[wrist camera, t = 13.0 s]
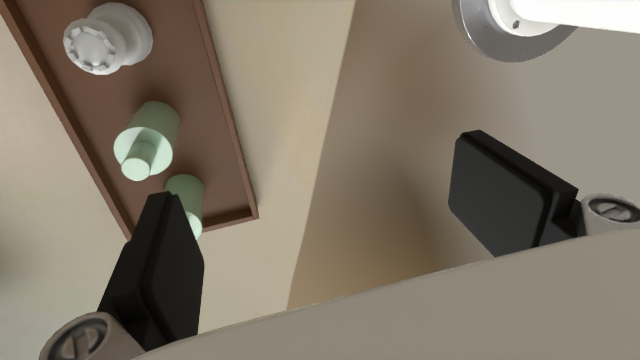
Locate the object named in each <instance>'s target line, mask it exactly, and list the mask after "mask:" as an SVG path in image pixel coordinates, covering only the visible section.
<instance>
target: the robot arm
mask: <svg viewBox="0 0 640 360" xmlns="http://www.w3.org/2000/svg"><path fill="white" fill-rule="evenodd" d="M488 6H489V9H490V11H491V14H492V17H493V18H494V20H495V21H496V23H497V24H498V25H499V26H500V27H501V28H502V29H503V30H505V31H507V32H509V33H511V34H514V35H519V36H536V35H540V34H543V33H545V32H548V31H550V30H552V29H553V28H555V27H556V26H558V25H560V24H563V25H572V26H581V27H589V28H598V29H606V30H615V31H624V32H632V33H640V0H488ZM578 190H579V189H578V188H576V187H574V186H573V185H571V184H569V183H568V182H566V181H564V180H562V179H561V178H559V177H558V176H556V175H554V174H553V173H551V172H549V171H548V170H546V169H544V168H543V167H541V166H539V165H538V164H536V163H535V162H533V161H531V160H530V159H528V158H526V157H525V156H523V155H521V154H519V153H518V152H516V151H515V150H513V149H511V148H510V147H508V146H506V145H505V144H503V143H501V142H500V141H498V140H496V139H495V138H493V137H491V136H490V135H488V134H486V133H485V132H483V131H481V130H475V131H470V132H465V133H462V134H461V135H460V137H459V138H458V139H457V140H456V143H455V151H454V159H453V166H452V174H451V183H450V191H449V199H448V205H449V208H450V210H451V211H452V213H454V215H455V216H456V217H457V218H458V219H459V220H460V221H461V222H462V223H463V224H464V225H465V226H466V227H467V229H468V230H469V231H470V232H471V233H472V234H473V235H474V236H475V237H476V238H477V239H478V240H479V241H480V242H481V243H482V244H483V245H484V247H485V248H486V249H487V250H488V251H489V252H490V253H491V254H492V255H493V256H494V257H495V258H491V259H487V260H483V261H479V262H475V263H471V264H467V265H463V266H459V267H455V268H451V269H447V270H443V271H439V272H435V273H431V274H427V275H423V276H419V277H415V278H411V279H407V280H403V281H399V282H395V283H392V284H388V285H383V286H379V287H376V288H372V289H368V290H364V291H360V292H356V293H352V294H348V295H344V296H341V297H337V298H333V299H329V300H325V301H321V302H318V303H313V304H310V305H306V306H302V307H298V308H294V309H291V310H286V311H283V312H279V313H275V314H271V315H267V316H263V317H260V318H256V319H252V320H248V321H244V322H241V323H237V324H233V325H229V326H226V327H222V328H219V329H215V330H212V331H209V332H205V333H202V334H199V335H197V334H198V324H199V315H200V305H201V295H202V286H203V276H204V260H203V256H202V254H201V251H200V249H199V246H198V243H197V241H196V238H195V236H194V233H193V231H192V228H191V226H190V223H189V221H188V218H187V216H186V213H185V210H184V208H183V205H182V203H181V200H180V198H179V196H178V194H173V195H172V194H171V192H170V191H164V192H159V193H154V194H150V195H148V197H147V200H146V202H145V205H144V207H143V210H142V212H141V215H140V217H139V220H138V222H137V225H136V227H135V230H134V232H133V235H132V237H131V240H130V241H129V242H127V243H126V244H125V245H124V247H123V249H122V252H121V254H120V256H119V259H118V261H117V264H116V266H115V268H114V271H113V273H112V276H111V278H110V280H109V283H108V285H107V288H106V290H105V292H104V295H103V297H102V300H101V302H100V304H99V307H98V309H97V312H92V313H87V314H85V315H82V316H80V317H77V318H75V319H74V320H72V321H70V322H68V323H67V324H65V325H64V326H63V327H61V328H60V329H59V330H58V331H56V332H55V333H54V334H53V335H52V337H51V338H50V339H49V340H48V341H47V342H46V344H45V345H44V347H43V349H42V350H41V352H40V356H39V360H640V205H639V204H637V203H635V202H633V201H631V200H629V199H626V198H623V197H619V196H615V195H610V194H591V195H588V196H586V197H584V198H583V199H582V201H581V202H579V201H578V200H576V199H575V198H576V196H577V193H578Z"/></svg>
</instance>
